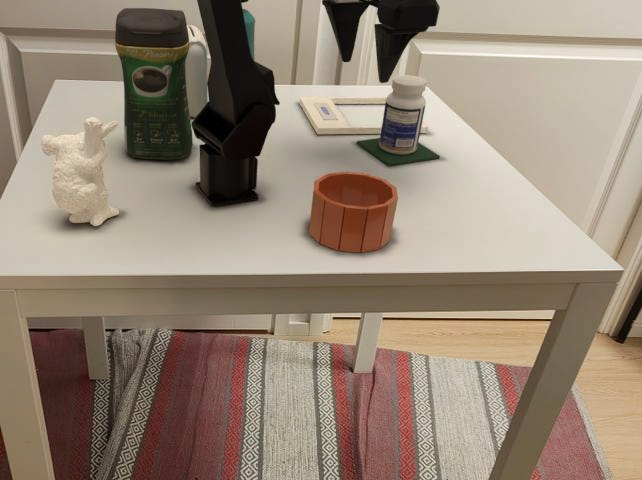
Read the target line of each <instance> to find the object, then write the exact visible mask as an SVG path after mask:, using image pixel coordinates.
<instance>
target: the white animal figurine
mask: <svg viewBox="0 0 642 480" xmlns="http://www.w3.org/2000/svg"><path fill="white" fill-rule="evenodd" d="M83 126H84V127H83V128H84V130H83V131H81V132H79V133H77V134H66V133H64V134H60V135H58V136H54V135H52V134H44V135H43V136H42V137H41V140H40V146H41V150H42V153H43V154H44V155H45V156H47V157H51V156H54V155H55V162H54V166H53V169H52V172H53V173H52V183H51V185H52V188H51V193H52V197H53V200H54V201H55V204H56V206H57V207H58V208H59V209H60V210H61V211H62V212H64V213H67V214H70V216H69V217H68V220H69V222H70V223H72V224H81V223H82V224H84V223H89V224H90V225H91V226H93V227H97V226H100V225H102V224H103V223H104V222H105V221H106V220H107V219H109V218H113V217H115V216H119V215H120V211H119V209H118V208H116V207H113V206H110V205H109V203H108V197H109V194H108V192H107V187H106V185H105V175H104V170H103V163H104V161H105V159H106V157H107V145H106V141H105V140H104V138H106V137H107V136H109V134H111V133H112V132H114V131H115V130H116V128H117V127H118V126H119V124H118V121H117V120H112V121H110V122H109V123H107V124H105V125H104V123H103V121H102V120H100V119H99V118H97V117H94V116H93V117H87V118H86V119H84V120H83Z"/></svg>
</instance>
